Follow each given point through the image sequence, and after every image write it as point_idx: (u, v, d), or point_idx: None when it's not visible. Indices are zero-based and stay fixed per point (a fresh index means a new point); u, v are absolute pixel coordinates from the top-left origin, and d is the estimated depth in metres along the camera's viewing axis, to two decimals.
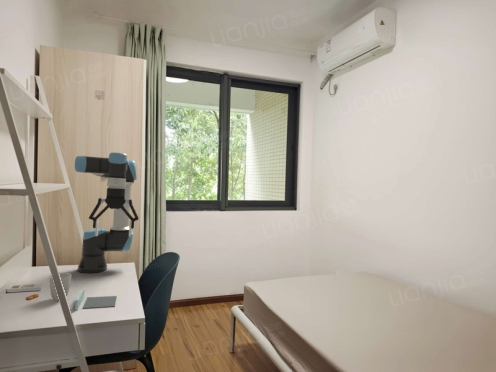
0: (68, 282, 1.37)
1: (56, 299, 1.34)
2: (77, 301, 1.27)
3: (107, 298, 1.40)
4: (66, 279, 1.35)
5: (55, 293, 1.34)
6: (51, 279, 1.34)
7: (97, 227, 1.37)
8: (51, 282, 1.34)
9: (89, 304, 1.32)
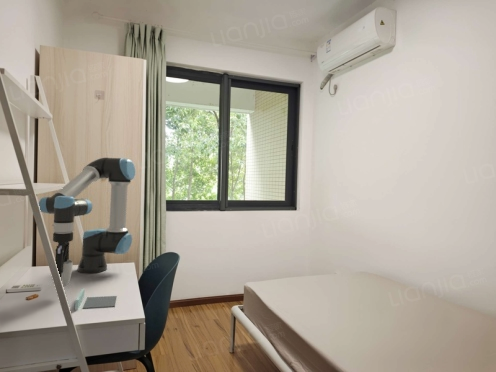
0: (70, 268, 1.37)
1: None
2: (77, 301, 1.27)
3: (107, 298, 1.40)
4: (68, 265, 1.36)
5: None
6: None
7: None
8: None
9: (89, 304, 1.32)
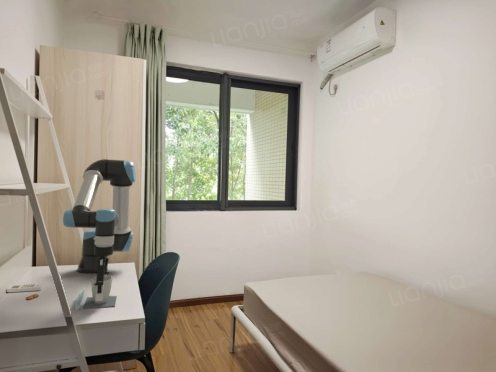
0: (109, 284, 1.35)
1: (98, 302, 1.33)
2: (77, 301, 1.27)
3: None
4: (108, 281, 1.34)
5: None
6: (93, 281, 1.32)
7: None
8: (93, 285, 1.32)
9: (89, 304, 1.32)
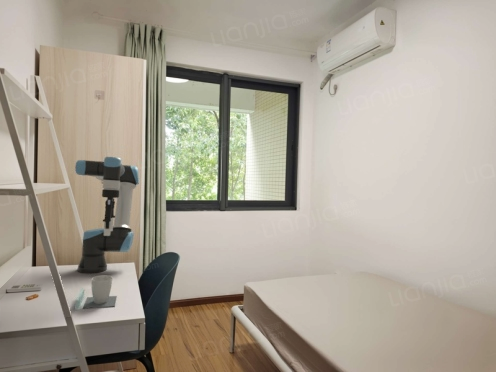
0: (110, 284, 1.35)
1: (98, 302, 1.33)
2: (77, 301, 1.27)
3: None
4: (108, 281, 1.34)
5: (97, 296, 1.33)
6: (93, 281, 1.32)
7: None
8: (93, 284, 1.33)
9: (89, 304, 1.32)
